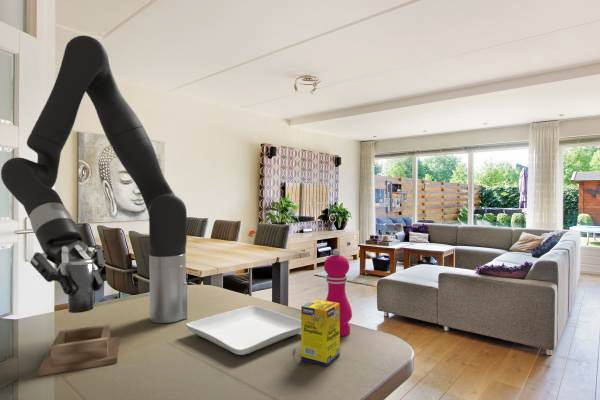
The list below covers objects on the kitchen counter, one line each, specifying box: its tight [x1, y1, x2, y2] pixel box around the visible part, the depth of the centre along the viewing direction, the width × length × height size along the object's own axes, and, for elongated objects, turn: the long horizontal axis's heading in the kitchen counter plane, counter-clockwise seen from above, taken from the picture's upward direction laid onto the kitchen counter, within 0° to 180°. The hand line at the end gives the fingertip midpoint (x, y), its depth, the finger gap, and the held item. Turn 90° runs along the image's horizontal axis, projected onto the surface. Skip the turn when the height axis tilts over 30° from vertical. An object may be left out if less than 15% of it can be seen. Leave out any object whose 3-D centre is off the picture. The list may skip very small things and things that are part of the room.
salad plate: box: [185, 305, 301, 356], centre depth 87 cm, size 21×21×3 cm
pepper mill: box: [323, 248, 353, 338], centre depth 89 cm, size 7×7×20 cm
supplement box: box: [300, 299, 341, 367], centre depth 75 cm, size 6×6×11 cm
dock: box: [37, 323, 120, 377], centre depth 76 cm, size 13×12×4 cm
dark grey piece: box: [67, 258, 95, 314], centre depth 76 cm, size 4×4×10 cm
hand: (86, 290), depth 75 cm, fingers closed on dark grey piece, 4 cm apart
